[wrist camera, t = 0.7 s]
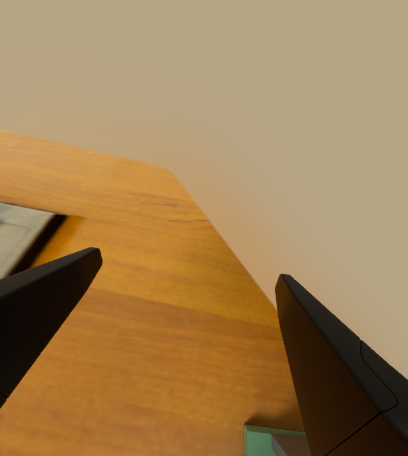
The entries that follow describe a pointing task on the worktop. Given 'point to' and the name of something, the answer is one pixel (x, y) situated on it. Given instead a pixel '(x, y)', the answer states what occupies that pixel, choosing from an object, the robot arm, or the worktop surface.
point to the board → (274, 442)
